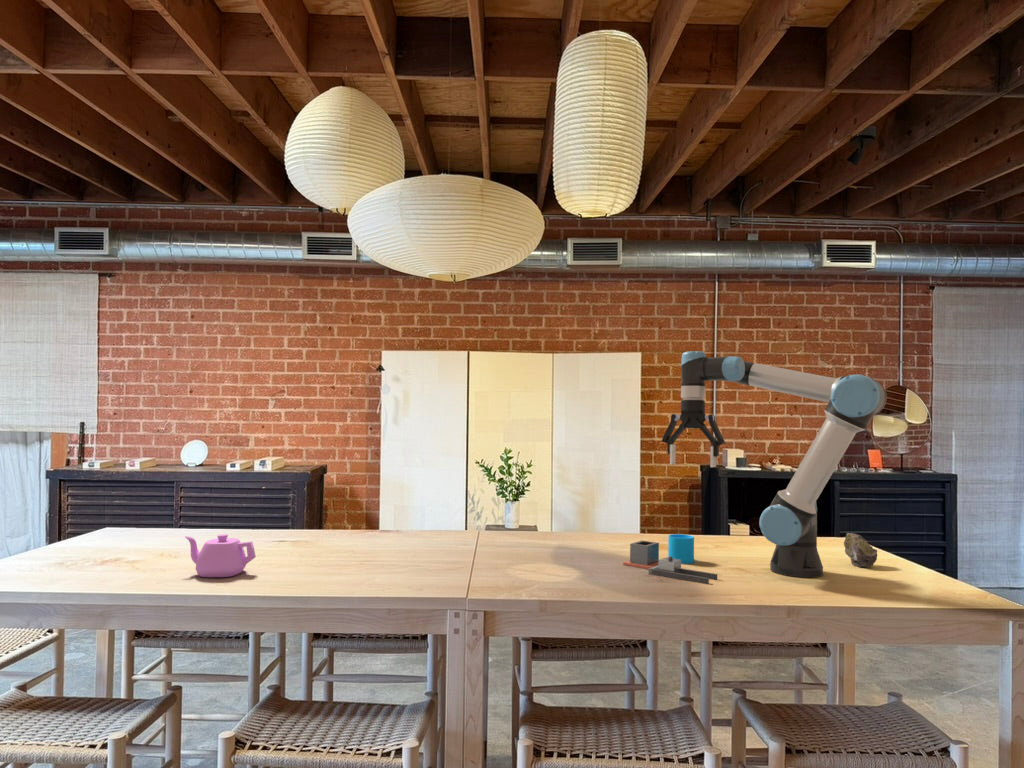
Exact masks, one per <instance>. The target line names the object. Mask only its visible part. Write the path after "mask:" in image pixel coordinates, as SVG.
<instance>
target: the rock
mask: <svg viewBox="0 0 1024 768" xmlns="http://www.w3.org/2000/svg"><path fill="white" fill-rule="evenodd" d="M843 546H844V548H845V549H844V553H845V554H846V555H847V556H848V558H850V563H851V564H852V566H854V567H857V568H861V567H866V568H871V567H873V566H874V564H875V563H876V562H877V559H878V549H875V548H873V546H871V545H870V544H869V541H868V540H867V539H865V538H863V536H862V535H861V534H857V533H851V532H847V533H846V534H845V537H844V541H843Z"/></svg>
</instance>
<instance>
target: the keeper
mask: <svg viewBox="0 0 1024 768" xmlns="http://www.w3.org/2000/svg"><path fill="white" fill-rule="evenodd" d="M622 565H623V566H627V567H633V568H640V569H644V570H649V569H650V568H652V567H655V566H658V562H656V563H654V564H651V565H648V566H646V565H640V564H634V563H630V559H629V560H627V561H624V562H623V563H622Z"/></svg>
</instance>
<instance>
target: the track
mask: <svg viewBox="0 0 1024 768" xmlns="http://www.w3.org/2000/svg"><path fill="white" fill-rule="evenodd" d="M648 575H652V576H659V577H665V578H669V579H676V580H681V581H688V582H692V583H693V582H694V583H699V584H705V585H709V583H710V580H715V581H717V580H718V573H713V572H712V573H711V572H706V571H701V570H695V569H687V568H682V567H681V573H675V572H669V571H663V570H658V566H655V567H652V568H650V569H648Z"/></svg>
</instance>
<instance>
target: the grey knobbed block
mask: <svg viewBox="0 0 1024 768" xmlns="http://www.w3.org/2000/svg"><path fill="white" fill-rule="evenodd" d="M681 568H682V564H681V560H679V559H673V557H672V556H668V555H667V556H666V557H664V558H663V557H662V558H660V559H659V562H658V570H663V571H669V572H675V573H681Z"/></svg>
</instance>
